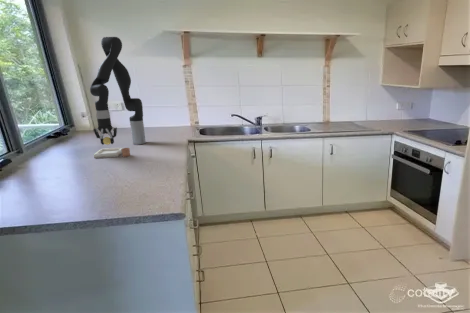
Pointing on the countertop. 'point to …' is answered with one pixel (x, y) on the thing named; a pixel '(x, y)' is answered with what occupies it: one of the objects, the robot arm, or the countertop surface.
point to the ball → (107, 140)
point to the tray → (108, 152)
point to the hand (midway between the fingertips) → (107, 144)
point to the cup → (125, 152)
